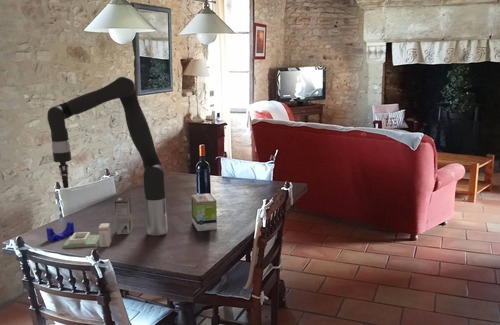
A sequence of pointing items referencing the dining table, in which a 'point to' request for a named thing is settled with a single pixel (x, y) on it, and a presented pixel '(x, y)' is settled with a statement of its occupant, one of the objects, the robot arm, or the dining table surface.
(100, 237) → the plug
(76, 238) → the board
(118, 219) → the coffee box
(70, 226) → the blue arch block
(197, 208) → the tea box
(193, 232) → the dining table surface
